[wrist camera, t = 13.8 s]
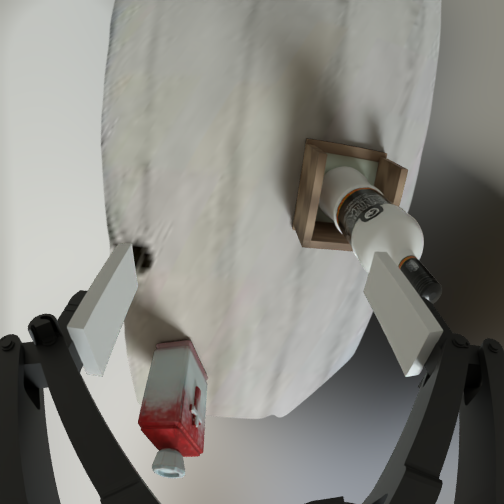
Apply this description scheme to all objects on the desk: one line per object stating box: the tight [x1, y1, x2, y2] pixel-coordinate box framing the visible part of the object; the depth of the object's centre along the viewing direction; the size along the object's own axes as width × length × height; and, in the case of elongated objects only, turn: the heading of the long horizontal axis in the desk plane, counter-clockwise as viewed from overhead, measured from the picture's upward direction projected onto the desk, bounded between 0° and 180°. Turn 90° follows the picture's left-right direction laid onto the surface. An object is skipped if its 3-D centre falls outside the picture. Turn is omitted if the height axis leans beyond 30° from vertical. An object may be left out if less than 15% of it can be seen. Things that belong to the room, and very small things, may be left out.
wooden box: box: [292, 138, 408, 251], centre depth 48 cm, size 16×14×9 cm
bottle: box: [138, 340, 208, 478], centre depth 57 cm, size 14×10×30 cm
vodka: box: [318, 166, 442, 304], centre depth 38 cm, size 9×9×30 cm
